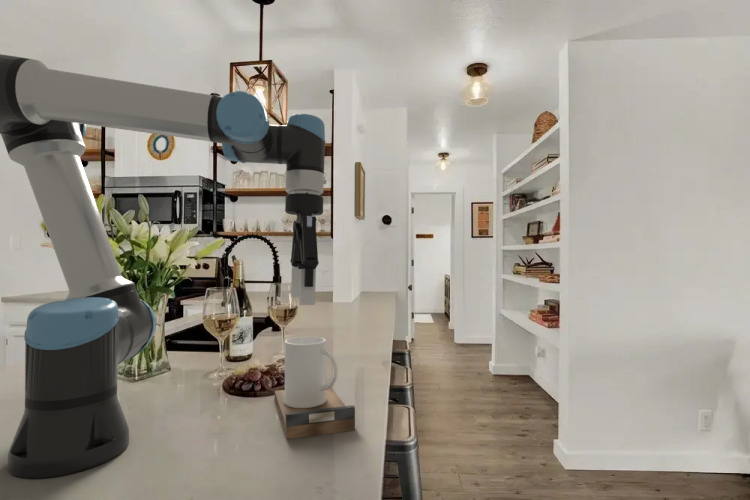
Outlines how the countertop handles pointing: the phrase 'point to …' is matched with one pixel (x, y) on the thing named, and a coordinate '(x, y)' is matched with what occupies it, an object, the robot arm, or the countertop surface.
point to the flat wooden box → (315, 417)
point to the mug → (306, 372)
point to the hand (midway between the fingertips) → (302, 300)
